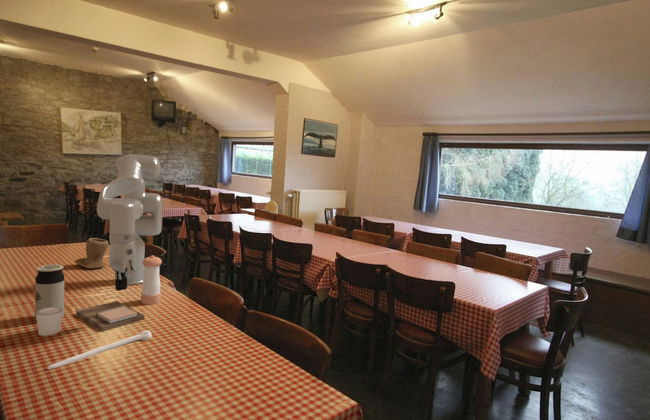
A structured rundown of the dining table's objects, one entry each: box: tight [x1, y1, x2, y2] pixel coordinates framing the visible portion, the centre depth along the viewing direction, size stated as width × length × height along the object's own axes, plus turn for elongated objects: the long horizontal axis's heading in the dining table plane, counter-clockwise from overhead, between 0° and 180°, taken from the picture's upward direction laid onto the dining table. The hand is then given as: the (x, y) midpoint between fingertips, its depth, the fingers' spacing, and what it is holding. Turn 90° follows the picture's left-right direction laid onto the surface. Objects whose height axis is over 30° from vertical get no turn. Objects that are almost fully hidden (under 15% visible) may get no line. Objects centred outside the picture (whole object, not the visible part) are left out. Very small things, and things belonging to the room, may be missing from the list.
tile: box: [96, 306, 138, 323], centre depth 127 cm, size 10×9×1 cm
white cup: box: [36, 307, 63, 337], centre depth 115 cm, size 7×7×7 cm
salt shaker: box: [140, 255, 163, 305], centre depth 146 cm, size 7×7×19 cm
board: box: [75, 300, 145, 332], centre depth 130 cm, size 20×14×2 cm
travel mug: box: [34, 264, 65, 321], centre depth 125 cm, size 8×8×18 cm
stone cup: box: [74, 237, 109, 269], centre depth 188 cm, size 15×12×15 cm
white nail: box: [46, 329, 152, 370], centre depth 106 cm, size 28×4×3 cm, turn 146°
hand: (121, 289), depth 125 cm, fingers closed
